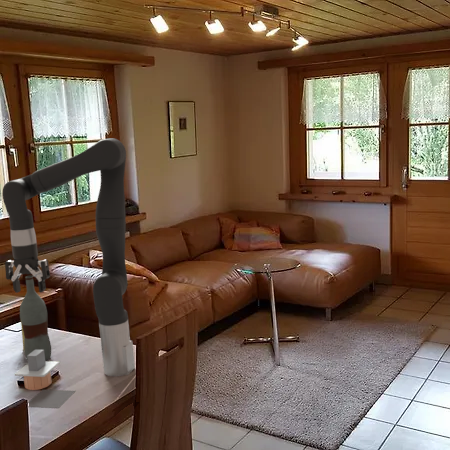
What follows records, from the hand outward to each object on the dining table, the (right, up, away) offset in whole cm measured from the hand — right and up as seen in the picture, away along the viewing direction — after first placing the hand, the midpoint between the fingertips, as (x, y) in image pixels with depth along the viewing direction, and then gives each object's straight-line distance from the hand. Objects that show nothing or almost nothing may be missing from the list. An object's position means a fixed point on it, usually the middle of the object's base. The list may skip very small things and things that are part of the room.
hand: (29, 291), depth 189 cm
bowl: (+4, -29, -4) cm, 29 cm away
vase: (-9, -24, +28) cm, 38 cm away
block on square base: (+4, -24, -4) cm, 25 cm away
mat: (+11, -30, -14) cm, 35 cm away
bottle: (-3, -26, +18) cm, 32 cm away
